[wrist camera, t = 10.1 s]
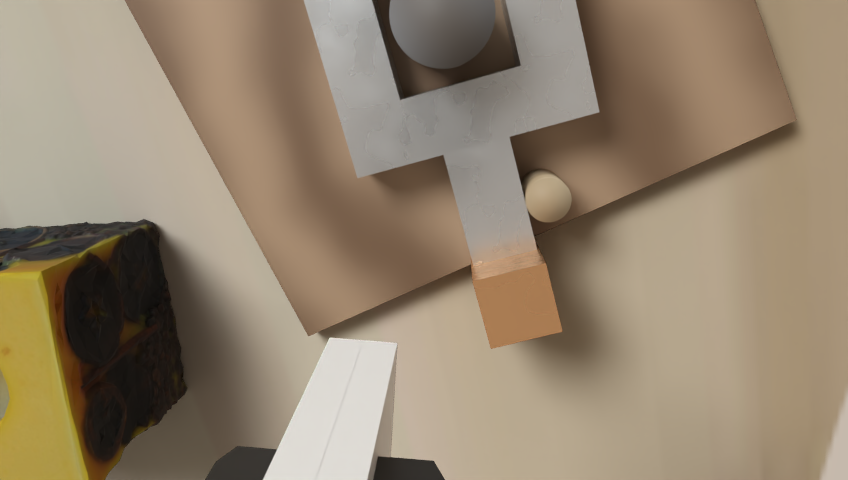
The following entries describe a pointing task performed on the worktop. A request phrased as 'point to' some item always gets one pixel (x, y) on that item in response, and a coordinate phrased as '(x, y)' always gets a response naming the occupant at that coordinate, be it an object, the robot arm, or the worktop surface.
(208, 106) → the base board
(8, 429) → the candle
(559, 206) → the dowel
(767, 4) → the worktop surface
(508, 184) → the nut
